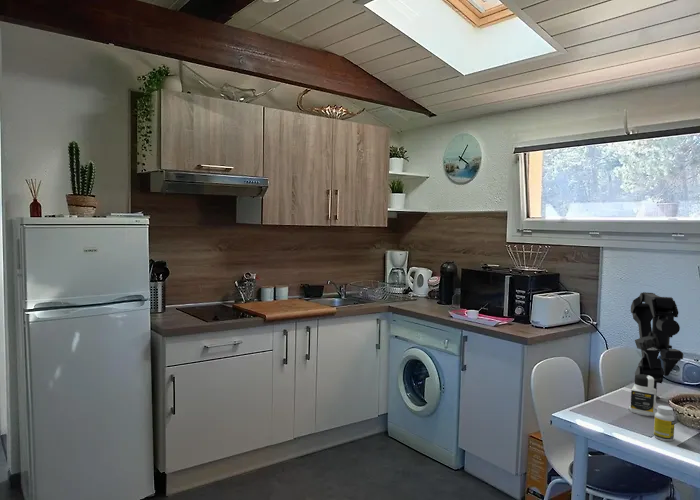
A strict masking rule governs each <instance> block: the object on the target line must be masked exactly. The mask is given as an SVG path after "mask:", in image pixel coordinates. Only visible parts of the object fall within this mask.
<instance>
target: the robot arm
mask: <svg viewBox="0 0 700 500" xmlns="http://www.w3.org/2000/svg"><path fill="white" fill-rule="evenodd" d="M630 313H631V314H632V319H633V320H634V321H635V322H636V323H637V326H638V333H639V334H638V335H639V338H637V339H634V343H635V347H636V349H639V350H640V353H641V359H639V362H638V364H637V367H636V369H635V372H634V376H635V375H638V374H644V375H649V376H651V377H653V378H654V388H655V389H656V400H659V399H660V400H661V397H660V396H658V395H657V392H658V391H657V389H658V388H657V386H658V385H657V384H663V381H664V377H667V376H669V375H670V374H671V372H672V370H673V369H674V368H675V366H676V365H677V364H678V362H680V361H681V360H683V359H684V353H683V352H682V351H681V350H680V349H676V348H673V346H672V345H671V344H670V343H671V342H670V339H671V338H673V336H676V335H677V334H678V333H680V329H681V326H680V324H679V323H678V322H677V321H676V320H675V318H678V317H679V313H680V312H679V309H678V305H677V303H676V301H675V300H674V298H673V297H672V296H671V297H670V296H659V295H657V294H656V293H654V292H645V291H644V292H640V293H639V296H638V297H636V298H635V299H632V303H631V306H630ZM659 355H660V356H659ZM662 363H663V364H662ZM662 365H663V366H662Z"/></svg>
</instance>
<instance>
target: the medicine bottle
mask: <svg viewBox="0 0 700 500" xmlns="http://www.w3.org/2000/svg"><path fill="white" fill-rule="evenodd" d="M630 392H631V393H630V394H631V395H630V404H631V407H630V408H631V409H635V410H640V411H645V412H650V413H653V412H654V410H655V409H656V402H657V399H656V395H657V393H656V389H655V388H654V378H653V377H651V376H649V375H644V374H638V375H635V374H634V385H633V386H632V388H631V391H630Z"/></svg>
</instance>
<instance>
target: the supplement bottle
mask: <svg viewBox="0 0 700 500" xmlns="http://www.w3.org/2000/svg"><path fill="white" fill-rule="evenodd" d="M673 410H674V409H673V407H671V406H668V405H657V413H655V416H654V423H653V437H654V439H657V440H660V441H663V442H672V441H674V435H675V420H676V419H675V415H673V413H674V412H673Z"/></svg>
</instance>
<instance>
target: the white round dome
mask: <svg viewBox="0 0 700 500" xmlns="http://www.w3.org/2000/svg"><path fill="white" fill-rule="evenodd" d="M630 407H631V403H630V404H628V411H629V412H631V413H632V414H633V413H634V414H635V415H638V416H639V415H640V416H644V417H655V413H657V412H658V408H655V410H654V412H653V413H650V412H645V411H640V410H635V409H631V408H630Z"/></svg>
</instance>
